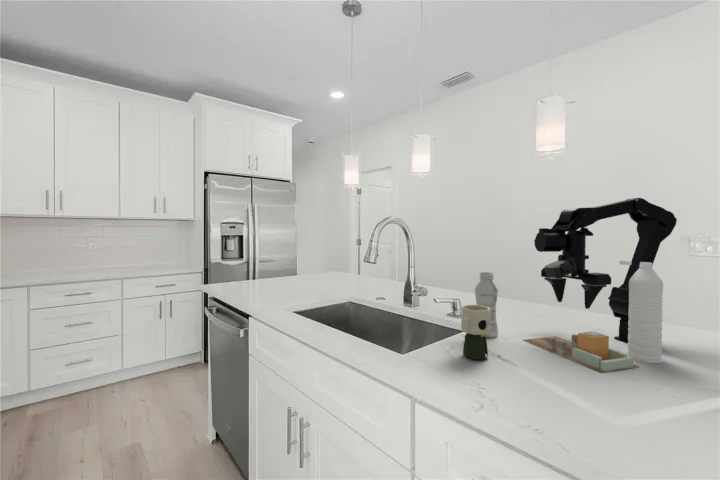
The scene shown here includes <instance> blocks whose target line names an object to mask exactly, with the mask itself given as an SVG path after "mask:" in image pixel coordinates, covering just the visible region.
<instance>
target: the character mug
mask: <svg viewBox="0 0 720 480" xmlns="http://www.w3.org/2000/svg"><path fill="white" fill-rule="evenodd" d="M460 311H461V313H460V314H461V315H460V316H461V318H460V319H461V323H460V325H461V331H462V332H464V333H465V336H464V340H463V347H462V355H464V356H466V357H468V358H471V359H474V360H485V359H486V358H489V353H488V351H489V350H488V344H487V343H488V342H487V338H486V337H485V334H489V332H490V326H489V321H490V308H489V307H486V306H482V305H477V304H465V305H462V306H461V309H460Z"/></svg>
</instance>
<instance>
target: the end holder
mask: <svg viewBox="0 0 720 480" xmlns="http://www.w3.org/2000/svg"><path fill="white" fill-rule="evenodd" d="M572 358H574V359H576V360H578V361H581V362H583V363H586V364H588V365H591V366H593V367H595V368H598V369H600V368H601V370H603V371H610V370H617V369H624V368H630V367H633V364H634V359H633V358H631V357H628V353H624V352H621V351H619V350H616V349H613V348H610V347H609V350H608V359H609V360H604V361H602V357H599V356H597V355H594V354H591V353H589V352H586V351H583V350H581V349H578V348H572Z"/></svg>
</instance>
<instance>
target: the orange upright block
mask: <svg viewBox="0 0 720 480" xmlns="http://www.w3.org/2000/svg"><path fill="white" fill-rule="evenodd" d="M577 335H578V349H581V350H583V351H586V352H589V353H591V354H594V355H597V356H599V357H602V361H604V360H608V350H609V348H610V346H609V344H610V343H609V340H610V338H609V337H610V336H609V335H605V334H604V333H600V332H597V331H593V330H592V331H585V332H578V333H577Z"/></svg>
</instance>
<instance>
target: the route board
mask: <svg viewBox="0 0 720 480" xmlns="http://www.w3.org/2000/svg"><path fill="white" fill-rule="evenodd" d="M522 341H523V342H526V343H529V344H531V345H533V346H535V347H538V348H540V349H542V350H544V351H547V352H550V353H551V354H555V355H557V356H559V357H561V358H563V359H566V360H569V361H570V362H573V363H575V364H578V365H580V366H583V367H585V368H587V369H590V370H592V371H594V372H597V373H599V374H605V373H613V372H619V371H625V370H631V369H638V368H640V365H639V366H638V365H637V364H634V363H633V367H630V368H624V369H617V370H610V371H603V370H601V368H600V369H598V368H595V367H593V366H591V365H588V364H586V363H583V362H581V361H578V360H576V359H574V358H572V348H578V334H577V333H575V334H571V341H570V340H567V339H565V338H562V337H560V336H556V335H555V336H547V337H545V336H544V337H537V338H528V339H522ZM608 360H609V359H608Z"/></svg>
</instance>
